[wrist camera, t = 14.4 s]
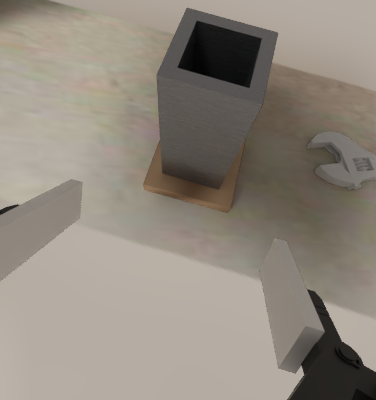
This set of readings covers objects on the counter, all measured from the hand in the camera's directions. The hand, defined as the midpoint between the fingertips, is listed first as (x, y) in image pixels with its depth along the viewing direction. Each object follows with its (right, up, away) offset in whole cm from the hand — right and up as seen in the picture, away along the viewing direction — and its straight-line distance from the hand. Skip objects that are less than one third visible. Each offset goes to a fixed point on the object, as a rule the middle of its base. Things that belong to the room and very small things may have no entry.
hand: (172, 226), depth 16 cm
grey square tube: (+2, +6, +9) cm, 12 cm away
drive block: (+2, +5, +11) cm, 13 cm away
